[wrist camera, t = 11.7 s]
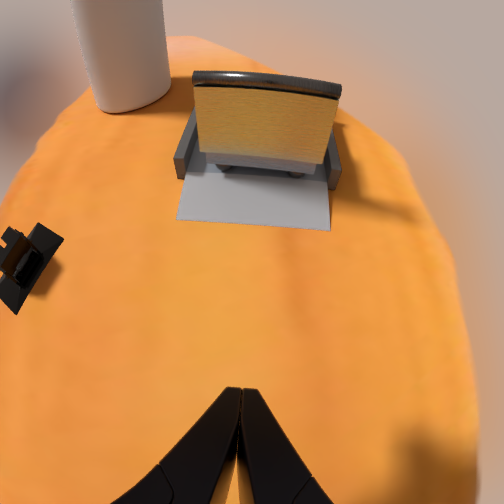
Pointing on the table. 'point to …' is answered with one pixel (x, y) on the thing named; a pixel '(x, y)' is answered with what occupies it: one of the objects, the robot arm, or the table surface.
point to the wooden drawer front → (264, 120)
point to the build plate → (24, 262)
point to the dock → (253, 189)
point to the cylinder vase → (123, 51)
